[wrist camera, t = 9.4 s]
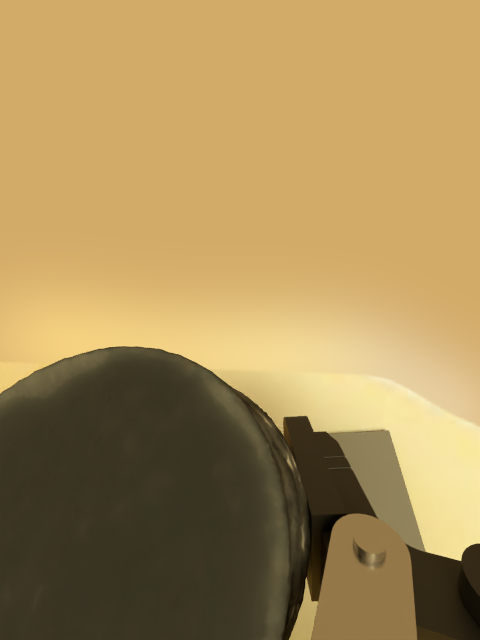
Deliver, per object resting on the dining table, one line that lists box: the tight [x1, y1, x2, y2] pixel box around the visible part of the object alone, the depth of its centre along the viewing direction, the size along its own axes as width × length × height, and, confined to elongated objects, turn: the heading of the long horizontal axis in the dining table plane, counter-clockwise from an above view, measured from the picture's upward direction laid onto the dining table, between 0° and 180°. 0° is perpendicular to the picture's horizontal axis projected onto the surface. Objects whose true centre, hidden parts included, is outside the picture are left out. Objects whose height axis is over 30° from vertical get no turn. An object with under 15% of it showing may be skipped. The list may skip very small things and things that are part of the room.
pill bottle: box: [0, 346, 310, 640], centre depth 8 cm, size 6×6×11 cm
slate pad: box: [329, 431, 425, 552], centre depth 21 cm, size 8×8×1 cm
